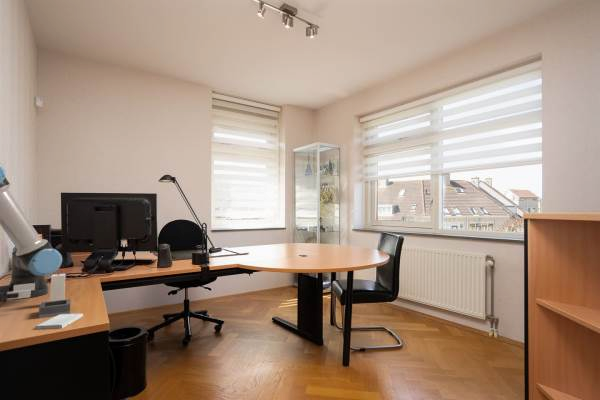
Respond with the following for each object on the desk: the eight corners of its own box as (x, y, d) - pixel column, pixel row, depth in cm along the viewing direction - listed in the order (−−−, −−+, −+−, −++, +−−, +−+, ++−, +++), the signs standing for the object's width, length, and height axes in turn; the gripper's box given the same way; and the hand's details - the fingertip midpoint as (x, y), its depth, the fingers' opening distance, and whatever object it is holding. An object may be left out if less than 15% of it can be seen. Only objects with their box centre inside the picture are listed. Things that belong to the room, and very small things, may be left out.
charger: (50, 303, 130) (52, 273, 130) (64, 301, 132) (65, 272, 133) (50, 306, 126) (51, 275, 127) (63, 304, 129) (65, 274, 129)
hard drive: (62, 324, 102) (83, 312, 114) (34, 326, 101) (58, 313, 113) (62, 330, 102) (83, 317, 114) (34, 331, 101) (58, 318, 113)
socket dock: (41, 311, 119) (41, 302, 119) (70, 307, 124) (70, 298, 124) (38, 318, 112) (39, 308, 112) (69, 313, 117) (70, 304, 117)
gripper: (-35, 300, 122) (35, 292, 135) (-58, 317, 102) (27, 307, 114) (-34, 281, 123) (36, 275, 135) (-57, 294, 103) (28, 286, 115)
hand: (32, 289), depth 125 cm, fingers open, 13 cm apart
